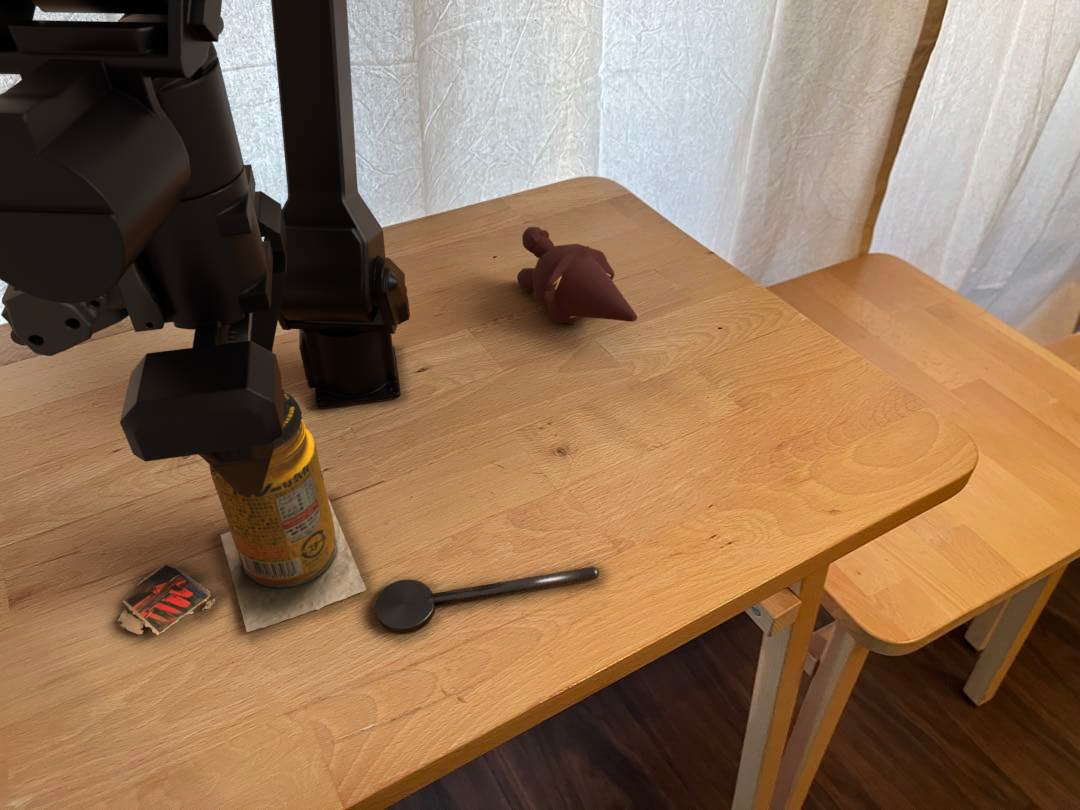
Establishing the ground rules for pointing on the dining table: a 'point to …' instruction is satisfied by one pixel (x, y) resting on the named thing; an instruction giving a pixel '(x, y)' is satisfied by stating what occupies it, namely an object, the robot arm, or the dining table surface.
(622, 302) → the brown gnome figurine
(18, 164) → the robot arm
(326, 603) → the condiment
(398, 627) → the steel spoon
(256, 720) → the dining table surface
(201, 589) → the torn cardboard piece
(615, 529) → the dining table surface
